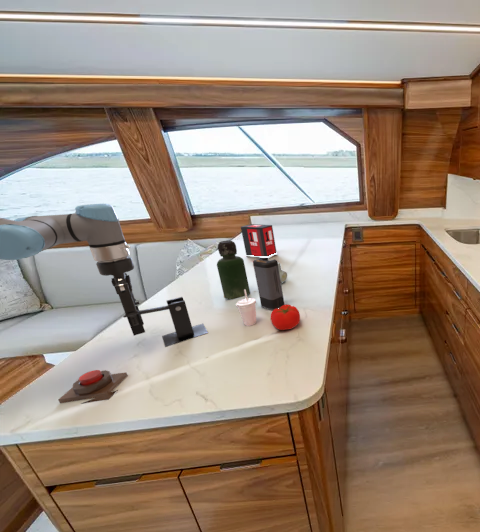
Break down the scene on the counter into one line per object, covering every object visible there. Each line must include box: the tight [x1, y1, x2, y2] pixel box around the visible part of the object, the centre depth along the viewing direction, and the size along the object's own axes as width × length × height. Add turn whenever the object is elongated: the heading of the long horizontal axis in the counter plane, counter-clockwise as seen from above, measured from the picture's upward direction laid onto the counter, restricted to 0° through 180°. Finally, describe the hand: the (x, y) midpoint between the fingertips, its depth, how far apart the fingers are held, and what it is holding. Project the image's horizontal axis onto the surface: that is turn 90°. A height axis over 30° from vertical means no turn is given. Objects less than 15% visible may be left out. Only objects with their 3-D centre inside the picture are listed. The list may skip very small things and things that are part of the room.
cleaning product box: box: [240, 223, 277, 256], centre depth 191 cm, size 16×9×20 cm, turn 72°
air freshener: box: [277, 261, 288, 284], centre depth 147 cm, size 11×8×10 cm
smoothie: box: [235, 289, 257, 327], centre depth 106 cm, size 6×6×14 cm
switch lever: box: [138, 301, 179, 316], centre depth 95 cm, size 13×6×2 cm, turn 132°
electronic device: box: [252, 258, 285, 311], centre depth 120 cm, size 9×6×20 cm, turn 59°
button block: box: [57, 369, 129, 405], centre depth 77 cm, size 10×8×4 cm
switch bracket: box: [161, 296, 209, 348], centre depth 100 cm, size 12×9×14 cm
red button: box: [78, 369, 103, 386], centre depth 76 cm, size 4×4×2 cm
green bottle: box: [216, 240, 251, 300], centre depth 131 cm, size 10×10×25 cm
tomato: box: [270, 303, 301, 331], centre depth 107 cm, size 10×11×6 cm
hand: (138, 329), depth 93 cm, fingers closed on switch lever, 6 cm apart
